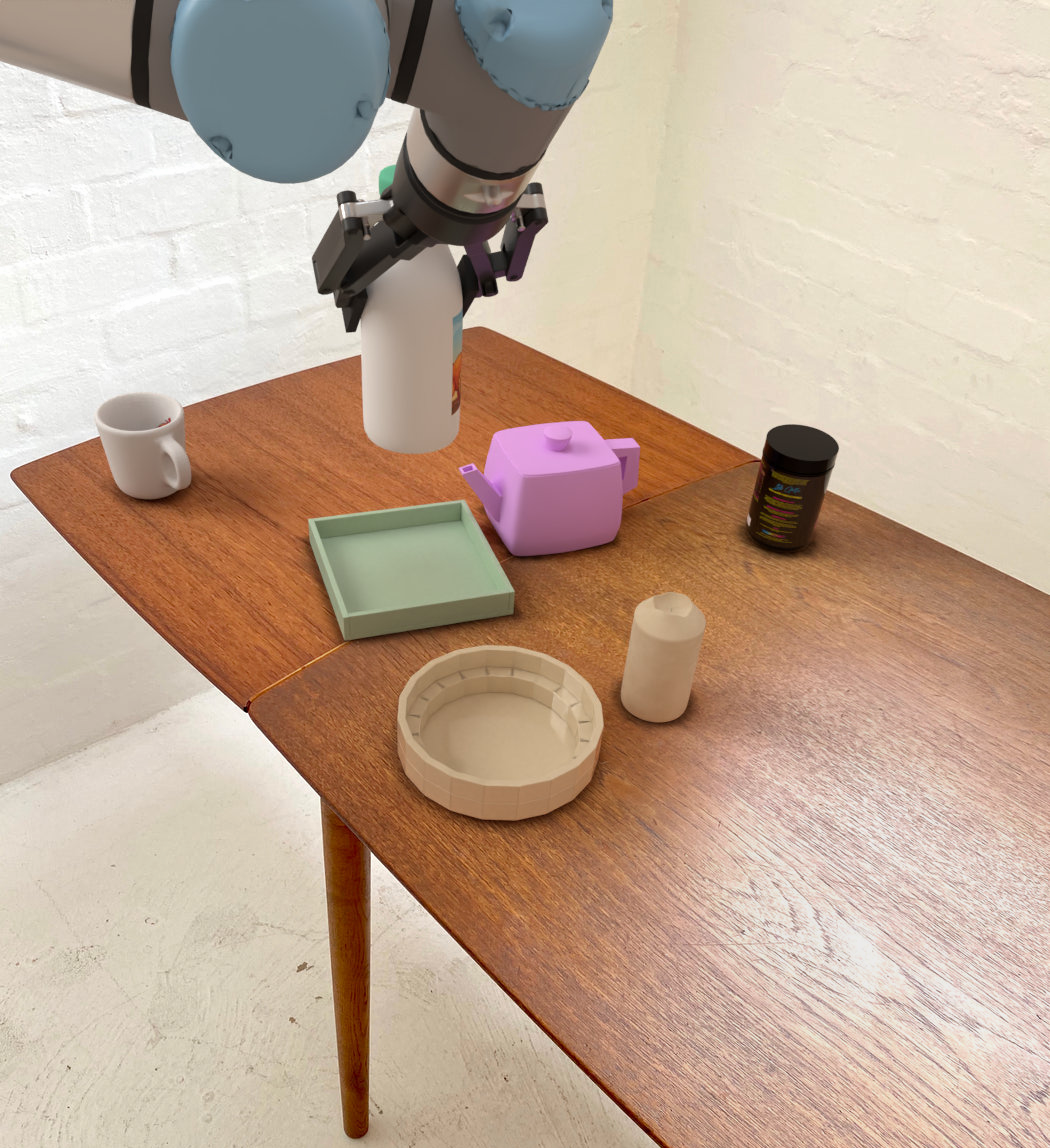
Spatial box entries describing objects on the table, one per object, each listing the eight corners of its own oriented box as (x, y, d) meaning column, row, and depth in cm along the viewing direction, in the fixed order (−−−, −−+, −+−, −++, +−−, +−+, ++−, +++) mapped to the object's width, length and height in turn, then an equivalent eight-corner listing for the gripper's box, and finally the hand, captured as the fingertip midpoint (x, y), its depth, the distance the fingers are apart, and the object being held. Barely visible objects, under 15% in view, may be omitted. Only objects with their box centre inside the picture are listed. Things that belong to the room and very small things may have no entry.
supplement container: (816, 558, 107) (845, 463, 100) (747, 553, 107) (771, 457, 100) (806, 520, 112) (832, 427, 105) (739, 514, 112) (761, 421, 105)
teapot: (474, 570, 102) (479, 473, 95) (440, 509, 109) (442, 414, 102) (651, 542, 107) (667, 448, 100) (607, 485, 114) (620, 394, 107)
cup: (228, 500, 107) (218, 426, 102) (156, 531, 103) (142, 454, 97) (164, 456, 112) (152, 383, 107) (93, 483, 108) (76, 408, 102)
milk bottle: (437, 466, 86) (443, 198, 73) (347, 444, 88) (336, 178, 74) (473, 422, 92) (484, 166, 78) (387, 402, 93) (383, 147, 80)
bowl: (428, 843, 78) (429, 804, 75) (377, 701, 88) (376, 662, 85) (627, 800, 82) (635, 762, 79) (556, 669, 92) (560, 632, 90)
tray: (344, 641, 93) (343, 617, 91) (309, 541, 103) (307, 518, 102) (513, 614, 97) (515, 591, 96) (463, 521, 108) (464, 499, 106)
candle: (670, 732, 88) (692, 634, 81) (608, 706, 89) (624, 608, 83) (697, 693, 91) (720, 596, 84) (637, 669, 93) (655, 572, 86)
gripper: (303, 228, 62) (276, 369, 83) (640, 211, 67) (532, 348, 89) (279, 95, 62) (258, 272, 83) (618, 90, 67) (516, 256, 89)
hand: (400, 311), depth 86 cm, fingers closed on milk bottle, 8 cm apart
